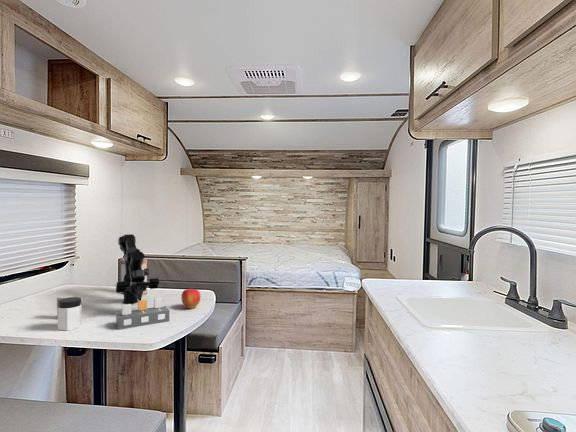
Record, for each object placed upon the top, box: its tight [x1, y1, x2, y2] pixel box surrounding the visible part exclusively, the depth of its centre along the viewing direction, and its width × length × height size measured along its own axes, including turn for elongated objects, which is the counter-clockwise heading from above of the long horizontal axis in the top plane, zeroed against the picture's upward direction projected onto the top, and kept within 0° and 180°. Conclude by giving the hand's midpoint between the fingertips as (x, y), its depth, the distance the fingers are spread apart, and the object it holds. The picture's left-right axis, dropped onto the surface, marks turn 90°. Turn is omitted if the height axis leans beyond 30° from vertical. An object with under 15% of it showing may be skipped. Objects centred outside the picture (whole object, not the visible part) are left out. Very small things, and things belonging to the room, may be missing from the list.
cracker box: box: [120, 258, 148, 296], centre depth 202 cm, size 14×6×21 cm, turn 71°
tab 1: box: [121, 304, 132, 315], centre depth 150 cm, size 2×4×4 cm, turn 123°
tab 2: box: [137, 299, 148, 310], centre depth 156 cm, size 2×4×4 cm, turn 123°
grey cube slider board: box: [115, 305, 170, 330], centre depth 155 cm, size 8×21×5 cm, turn 123°
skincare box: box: [56, 294, 74, 320], centre depth 159 cm, size 5×4×10 cm
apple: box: [180, 288, 201, 310], centre depth 177 cm, size 10×10×10 cm
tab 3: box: [153, 297, 164, 308], centre depth 160 cm, size 2×4×4 cm, turn 123°
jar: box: [57, 296, 83, 332], centre depth 148 cm, size 9×8×12 cm
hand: (140, 300), depth 161 cm, fingers closed
